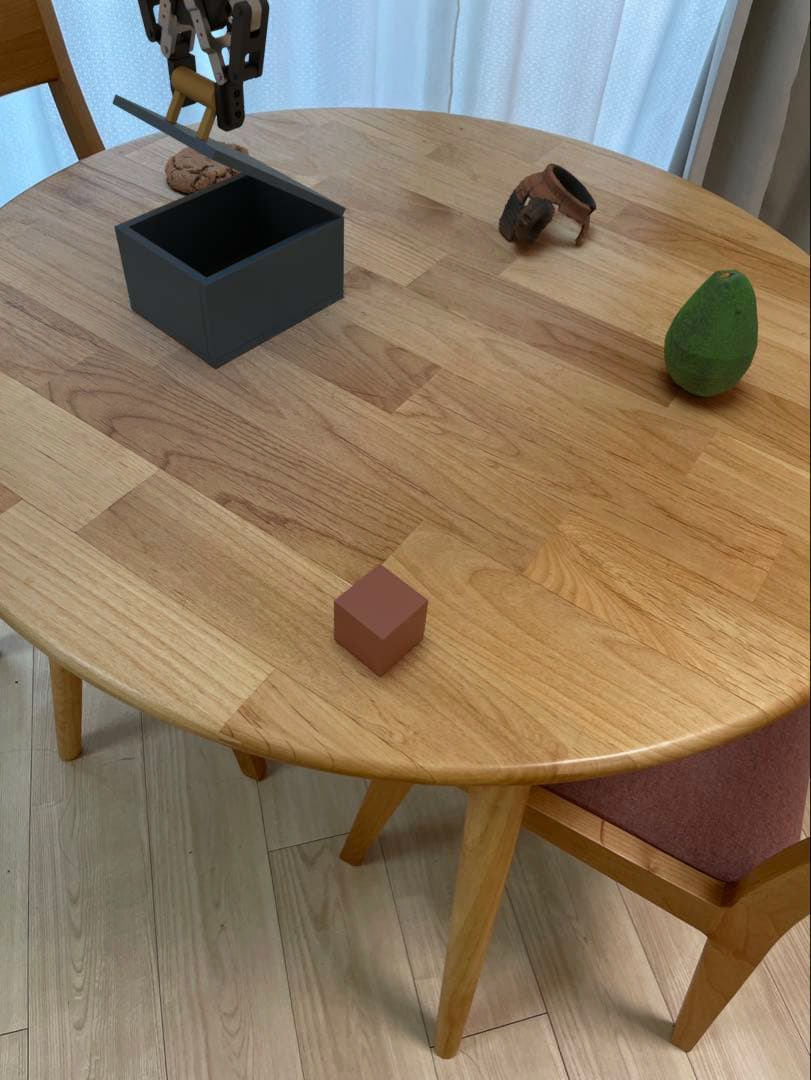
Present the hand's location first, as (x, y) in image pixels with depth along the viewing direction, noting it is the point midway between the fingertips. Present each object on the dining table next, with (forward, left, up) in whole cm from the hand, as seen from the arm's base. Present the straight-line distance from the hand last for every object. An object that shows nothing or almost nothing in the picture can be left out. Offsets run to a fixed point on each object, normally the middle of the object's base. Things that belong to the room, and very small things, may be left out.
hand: (208, 115), depth 73 cm
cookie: (-8, +25, -19) cm, 33 cm away
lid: (+1, +2, -5) cm, 5 cm away
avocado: (+46, -4, -19) cm, 50 cm away
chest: (+1, +1, -19) cm, 19 cm away
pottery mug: (+31, +20, -19) cm, 41 cm away
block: (+20, -37, -19) cm, 46 cm away
